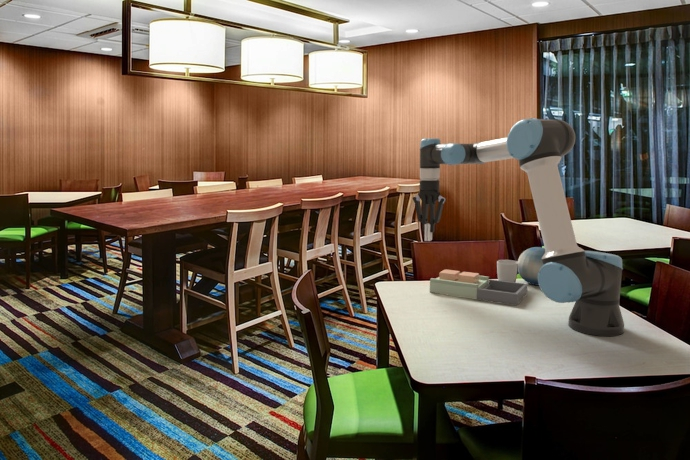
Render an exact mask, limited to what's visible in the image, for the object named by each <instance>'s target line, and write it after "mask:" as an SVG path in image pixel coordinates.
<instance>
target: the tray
mask: <svg viewBox="0 0 690 460" xmlns="http://www.w3.org/2000/svg"><path fill="white" fill-rule="evenodd" d="M527 295H528V283H524V282H523V283H522V282H517V281H516V282H508V281H500V280H498V279H490V278H489V284H488V285H486V286H485V287H484V288H483V289H480V288H478V289H477V299H476V300H478V301H483V302H490V303H497V304H503V305H509V306H510V305H511V306H518V305H519V303H521V301H523V299H524V298H525V297H526V296H527Z"/></svg>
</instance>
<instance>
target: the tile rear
mask: <svg viewBox="0 0 690 460" xmlns="http://www.w3.org/2000/svg"><path fill="white" fill-rule="evenodd" d="M460 273H461V271H460V270H456V269H455V270H453V269H443V270H442V271H440V272H439V274H438V275H439V276H438V277H439V279H442V280H450V281H457V280H458V275H459V274H460Z"/></svg>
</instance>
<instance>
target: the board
mask: <svg viewBox="0 0 690 460" xmlns="http://www.w3.org/2000/svg"><path fill="white" fill-rule="evenodd" d="M461 273H462V272H460V274H461ZM489 279H490V276H485V275H480V274H479V281H478V282H477V283H476V284H473V283H465V282H458V280H457V281H450V280H442V279H439V276H438V277H436V278H433V277H431V278H430V279H429V293H431V292H435V293H434V294H438V293H441V294H440V295H444V294H446V296H451V297H459V298H466V299H471V300H472V299H473V300H477V289H478V288H480V289H483V288H484V287H485V286H486V285H488V284H489Z"/></svg>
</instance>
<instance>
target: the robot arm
mask: <svg viewBox="0 0 690 460" xmlns="http://www.w3.org/2000/svg"><path fill="white" fill-rule="evenodd" d="M575 144H576V133H575V130H574V128H573V127H572V125H570V124H569V123H568V122H566V121H564V120H561V119H555V118H554V119H552V118H551V119H548V118H545V119H544V118H535V117H532V118H523V119H520V120H519V121H517V122H515V123H514V124H513V126H512V127H511V128H510V131H509V133H508V134H507V136H505V137H501V138H496V139H491V140H486V141H485V140H484V141H479V142H475V143H473V142H472V143H455V142H451V143H450V142H448V143H441V138H422V139H421V140H420V146H419V147H420V148H419V179H420V180H419V192H418V195H416V196H413V197H412V200H413V203H414V205H415V206H414V207H415V211H416V212H415V213H416V217H417V218H416V219H417V221H418V222H419V223H421V224H422V232H424V242H431V241H432V240H433V233H434V232H435V229H436V227H435V226H436V224H437V223H438V224H439V222H440V221H441V217H442V212H443V210H444V209H443V208H444V204H445V203H446V201H447V199H446V197H443V196H442V195H441V193H440V182H441V181H440V180H439V179H441V178H440V177H441V175H440V169H441V166H440V165H449V166H456V165H472V164H473V165H474V164H475V165H482V164H486V163H488V162H496V161H502V160H503V161H505V160H509V159H510V160H511V159H512V160H513V159H515V160H517V161H518V164H519V165H518V166H519V168H520V170H521V171H524V172H525V173H526V174H527V178H528V182H529V187H530V192H531V195H532V200H533V205H534V208H535V211H536V212H535V213H536V217H537V221H538V224H539V230H540V233H541V238H542V243H543V246H544V247H543V248H544V249H545V254H544V255H543V257H542V263H543V266H542V267H541V268H540V270H539V271H540V272H539V273H538V283H539V285H538V286H539V288H540V290H541V292H542V293H543V294H544V296H545V297H546V298H548V299H549V300H551V301H552V302H555V303H559V304H564V303H568V304H569V303H574V305H573V306H572V309H571V311H570V314H569V315H568V322H567V323H568V326H569V327H570V328H571V329H572V330H575V331H577V332H579V333H583V334H587V335H592V336H598V337H599V336H601V337H613V336H619V335H622V334H624V332H625V321H624V318H623V314H622V311H621V307H620V298H621V288H622V279H623V278H622V276H623V270H624V267H623V259H622V257H621V256H619V255H618V254H617V255H616V254H614V253H613V254H612V253H608V252H607V253H606V252H601V251H595V250H594V251H593V250H584V249H583V248H582V247H579V245H578V244H577V240H576V235H575V232H574V227H573V222H572V219H571V215H570V211H569V206H568V202H567V199H566V195H565V191H564V186H563V183H562V178H561V175H560V171H559V166H558V165H559V164H560V162H561V160H562V157H563V156H566V155H568V154H569V153H570V152H571V150H572V149H573V148H574V145H575ZM421 201H422V204H421ZM437 201H438V204H437ZM436 204H437V209H436ZM421 205H422V206H421ZM428 216H429V218H428ZM428 220H429V221H428Z"/></svg>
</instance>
